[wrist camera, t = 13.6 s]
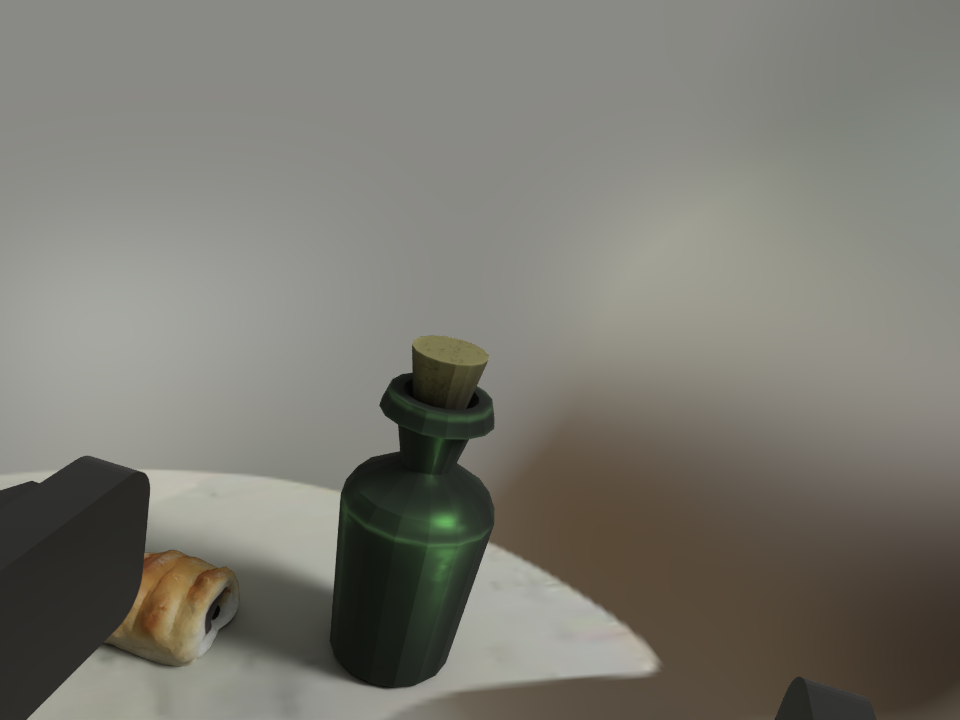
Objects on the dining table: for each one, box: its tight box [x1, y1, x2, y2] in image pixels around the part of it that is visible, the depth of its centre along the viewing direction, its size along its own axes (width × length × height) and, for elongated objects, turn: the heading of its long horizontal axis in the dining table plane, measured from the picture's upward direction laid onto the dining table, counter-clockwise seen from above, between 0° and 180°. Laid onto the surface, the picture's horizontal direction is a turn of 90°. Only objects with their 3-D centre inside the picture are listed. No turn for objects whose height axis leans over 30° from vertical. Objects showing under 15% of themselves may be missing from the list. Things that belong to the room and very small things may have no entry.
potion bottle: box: [330, 336, 494, 688], centre depth 46 cm, size 8×8×18 cm
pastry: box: [103, 550, 239, 666], centre depth 47 cm, size 9×7×4 cm
